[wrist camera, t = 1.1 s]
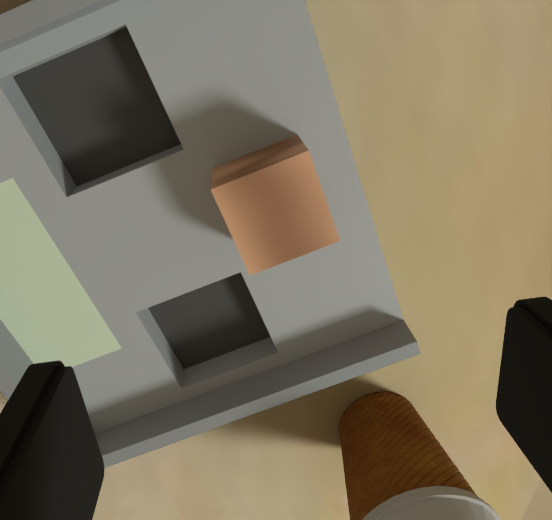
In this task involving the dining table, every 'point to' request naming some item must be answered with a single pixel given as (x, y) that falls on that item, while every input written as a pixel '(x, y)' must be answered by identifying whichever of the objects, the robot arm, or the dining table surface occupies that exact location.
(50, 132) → the box
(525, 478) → the dining table surface
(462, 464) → the dining table surface
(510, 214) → the dining table surface
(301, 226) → the block
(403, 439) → the disposable coffee cup
